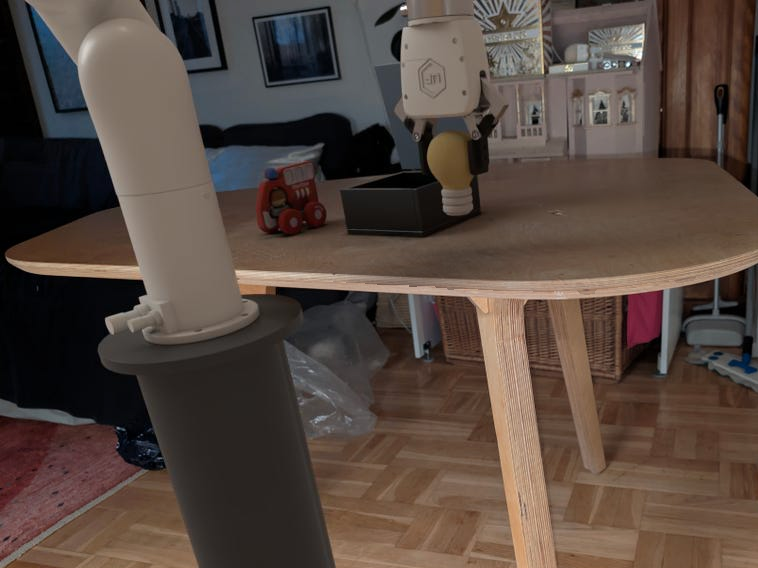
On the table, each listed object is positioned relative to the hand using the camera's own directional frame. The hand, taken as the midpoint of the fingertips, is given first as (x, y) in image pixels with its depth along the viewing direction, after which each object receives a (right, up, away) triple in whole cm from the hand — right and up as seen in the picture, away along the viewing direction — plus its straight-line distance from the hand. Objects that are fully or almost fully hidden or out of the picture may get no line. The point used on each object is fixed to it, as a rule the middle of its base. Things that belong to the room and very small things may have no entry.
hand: (454, 172), depth 85 cm
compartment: (-7, -1, +24) cm, 25 cm away
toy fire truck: (-28, -2, +30) cm, 41 cm away
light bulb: (0, -5, +2) cm, 5 cm away
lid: (-6, +15, +23) cm, 28 cm away
